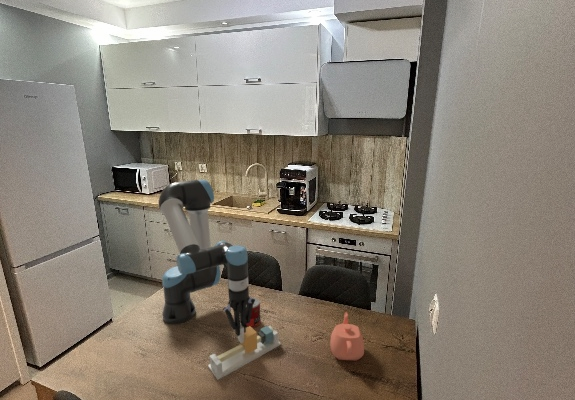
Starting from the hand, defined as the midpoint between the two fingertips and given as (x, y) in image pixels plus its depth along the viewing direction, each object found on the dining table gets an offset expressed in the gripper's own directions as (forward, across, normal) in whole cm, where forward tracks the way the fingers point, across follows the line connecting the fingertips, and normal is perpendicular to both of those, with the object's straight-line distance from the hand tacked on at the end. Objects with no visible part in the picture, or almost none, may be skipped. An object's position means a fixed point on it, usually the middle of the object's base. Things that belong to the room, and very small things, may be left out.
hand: (241, 340), depth 122 cm
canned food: (+8, +15, +16) cm, 23 cm away
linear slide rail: (+8, +2, 0) cm, 8 cm away
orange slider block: (+5, +3, 0) cm, 6 cm away
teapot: (+8, +35, -24) cm, 43 cm away
